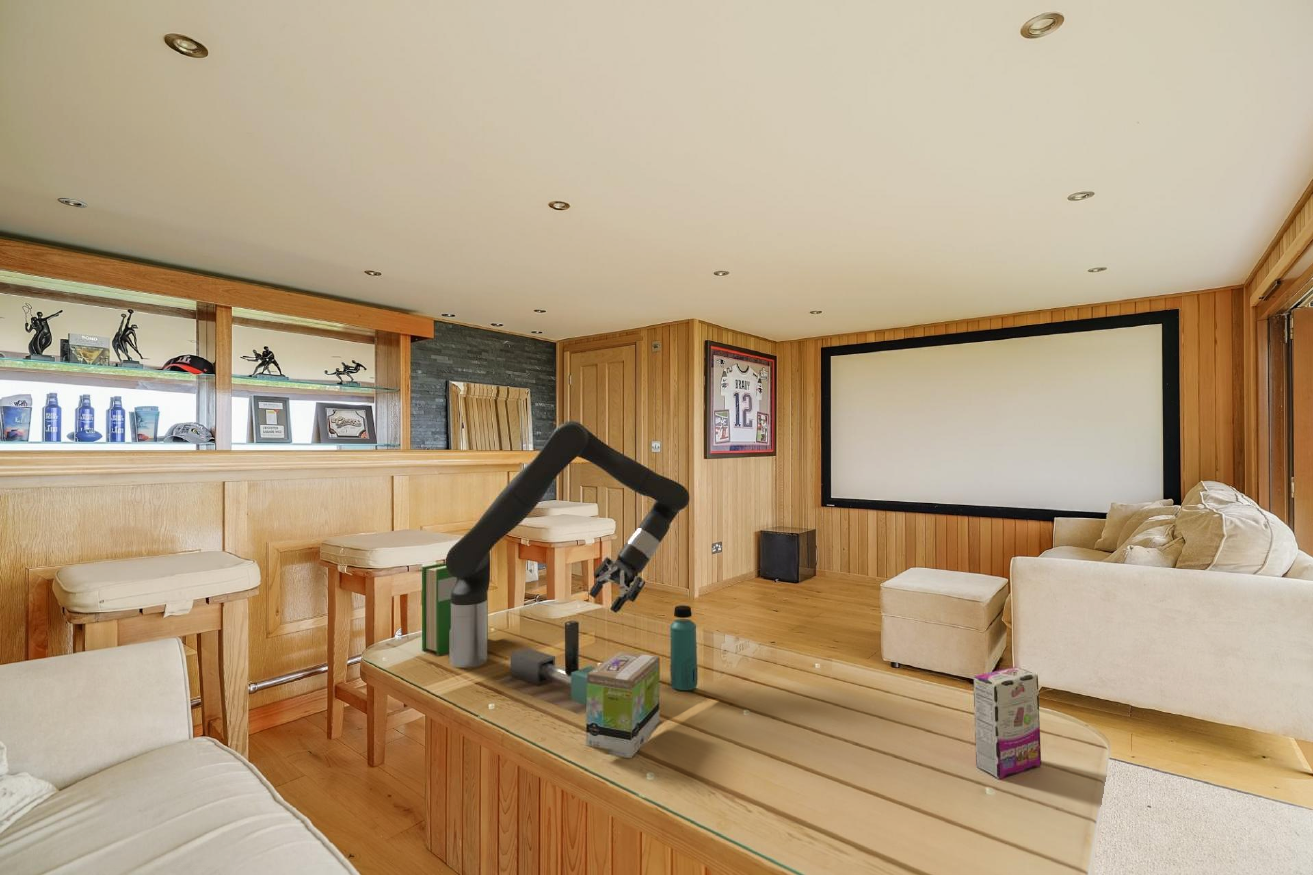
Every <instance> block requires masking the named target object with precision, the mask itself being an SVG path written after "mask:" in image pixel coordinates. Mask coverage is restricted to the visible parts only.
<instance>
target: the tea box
mask: <svg viewBox="0 0 1313 875" xmlns="http://www.w3.org/2000/svg"><path fill="white" fill-rule="evenodd" d="M660 661H661V660H660V656H657V655H649V654H642V653H635V652H627V651H620V650H619V651H616V652H615V653H614V654H612V655H611V656H610V657H608V658H606V660H605V661H603V662H602V663H600V664H599V665H597V666H596V668H595V669H593V670H592V671H590V672H589V673H588V674H587V707H586V712H585V713H586V715H585V718H586V721H585V722H586V723H585V729H586V731H585V746H589V747H595V748H600V749H606V750H610V751H608V752H606V753H605V754H606V755H610V756H614V757H615V756H616V757H620V758H621V757H622V758H627V759H632V758H633V757H634V755H635V754H636V753H637V752H638V750H639V749H640V748H641V747H642V746H643V745H644V743H645V742H646V741H647V740H648V739H649V738H650V737H651V736H652V734H654V732H655V731H656V730H657V729H658V728H659V726H660V724H658V723H659V722H660V696H661V694H660V689H661V688H660V685H661V684H660V680H661V679H660V677H661V676H660V673H661V672H660V671H661V670H660V669H661V664H660V663H661V662H660ZM657 724H658V725H657Z"/></svg>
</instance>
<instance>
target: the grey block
mask: <svg viewBox="0 0 1313 875" xmlns="http://www.w3.org/2000/svg"><path fill="white" fill-rule="evenodd" d="M509 655H510V660H509V661H510V663H509V664H510V676H511V677H513V678H516V679H519V680H521V681H524V682H527V683H529V684H532V685H535V686H537V687H538V686H541V685H543V684H546V683H549V682H551V680H548V679H546V678H543V677H540V664H542V663H545V662H546V663H549V664H552V665H555V666H556V656H554V655H551V654H548V653H546V652H543V651H539V650H536V649H532V648H529V647H527V648H524V649H519V650H516V651H514V652H511V653H510V654H509Z"/></svg>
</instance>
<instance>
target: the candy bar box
mask: <svg viewBox="0 0 1313 875" xmlns="http://www.w3.org/2000/svg"><path fill="white" fill-rule="evenodd" d="M972 679H973V680H972V681H973V704H974V706H973V707H974V708H973V709H974V733H975V734H974V736H975V738H974V739H975V762H976V764H975V766H976V768H978V769H979V770H981V771H983V772H985V773H986V774H988V775H991V776H993V777H994V778H996V779H997V780H1001V779H1005V778H1008V777H1011V776H1013V775H1014V776H1015V775H1017V774H1020V773H1023V772H1025V771H1029V770H1031V769H1032V770H1033V769H1035V768H1038V767H1040V766H1042V757H1041V756H1042V754H1041V753H1042V752H1041V729H1040V728H1041V726H1040V699H1039V698H1040V697H1039V675H1038V674H1037V673H1034V672H1031V671H1028V670H1026V669H1022V668H1021V667H1017V666H1012V667H1008V668H1004V669H1001V670H1000V669H999V670H996V671H991V672H986V673H982V674H978V675H974V676H972Z"/></svg>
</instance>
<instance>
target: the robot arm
mask: <svg viewBox="0 0 1313 875" xmlns="http://www.w3.org/2000/svg"><path fill="white" fill-rule="evenodd" d="M577 457H578V458H580V459H583V460H585V461H587V462H590V463H592V464H593V465H595V466H597V467H598V468H600V469H601V470H603V471H604V472H606V473H607V474H609V475H610V477H612V478H613V479H615V480H616V481H617V482H618V483H620V484H622V485H623V486H625V487H627V488H628V489H631V490H632V491H633V492H636V493H637V494H639V495H640V496H643V497H649V498H651V499H653V500H655V501H654V503H653V505H652V507H651V509H650V510H649V512H648V513H647V514H646V515H645V517H644V518H643V520H642V521H641V522H640V524H639V525H638V527H637V528H636V529H635V531H633V533H632V534H631V535H630V536H629V538H628V540H627V541H626V542H625V544H624V545H623V546H622V548H621V549H620V551H619V553H618V554H617V558H616V560H615V561H613V560H612V559H611V558H610V557H608V556H605V558H604V560H603V561H602V562H601V564H600V565H599V566H598V567H597V569H595V571H594V573H593V577H594V578H595V583H594V584H593V585H592V587H591V588H590V590H589V596H591V597H592V598H594V599H595V598H596V597H597V596H598V594H600V591H602V589H603V587H604V586H605V585H606V584H608V583H615V584H617V585H618V586H619V589H620V591H619V592H620V593H619V596H617V598H616V599H615V600H614V602H613V603H612V605H611V606H610V610H611V611H612V612H613V613H615V614H616V613H618V612H619V611H620V610H621V609H622V607H623V606H624V605H625V603H626V602H628V601H629V602H632V603H634V602H635V601H636V600H637V598H638V596H639V594H640V593H641V591H642V589H643V587H644V586H645V584H646V581H645V579H643V577H641V576H639V574H640V573H642V572H643V570H644V569H645V568H646V566H647V565H648V563H649V562H650V560H651V559H652V557H653V556H654V554H656V553H655V552H656V551H657V549H658V547H659V545H660V543H661V542H662V541H663V539H664V538H665V536H666V535H667V533H668V532H669V530H670V526H671V524H672V522H673V520H674V519H675V518H676V516H677V514H678V513H679V512H680V511H681V510H684V509H685V508H686V507H688V504H689V503H690V499H691V498H690V493H689V491H688V489H687V488H686V487H685V486H684V485H682V484H681V483H680V482H677V481H676V480H673V479H671V478H668V477H666V476H663V475H662V474H658V473H656V472H655V471H653V470H652V469H650V468H648V466H647V467H646V466H645V465H644V464H641V463H640V462H638V461H636V460H634V459H632V458H631V457H629V456H627V455H625V454H623V453H621V452H619V450H616V449H614V448H613V447H612V446H609V445H608V444H607V443H606V442H604V441H602V440H601V439H599V438H598V437H597V436H596V435H594V434H593V433H592V432H591V431H590V430H588V429H587V428H586V427H585V426H584V425H583V424H582V423H580V422H577V421H573V420H570V421H569V420H568V421H566V422H563V423H561V424H559V425H558V426H557V427H556V428H555V429H554V430H553V432H552V433H551V435H550V437H549V438H548V440H547V441H546V442H545V444H544V446H543V447H542V448H541V450H540V451H539V452H538V454H537V455H536V456H535V457H534V459H532V460H531V461H530V463H528V464H527V465H526V466H525V467H524V468H523V469H522V470H521V471H519V473H518V474H516V476H515V477H513V478H512V479H511V480H510V482H509V483H508V484H507V485H506V486H505V488H503V489H502V491H501V492H499V494H498V496H496V498H495V499H494V501H493V502H492V503H491V505H490V506H489V507H488V508H487V509H486V510H485V511H484V513H483V514H482V515H481V517H480V519H479V520H478V521H477V522H476V523H475V524H474V525H473V527H471V529H470V530H469V531H467V533H466V534H465V535H463V536H462V537H461V538H460V539H459V540H458V541H457V542H456V543H455V544H454V545H453V546H451V547H450V549H449V550H448V551H447V554H446V557H445V563H446V568H447V571H448V572H449V573H450V574H451V575H452V576H454V577H457V580H456V584H455V586H454V588H453V590H452V592H451V629H450V631H449V652H448V653H449V656H448V657H449V662H450V666H452V667H454V668H456V669H457V668H459V669H468V668H475V667H480V666H481V665H482V666H483V665H484V664H486V663H487V661H488V639H487V592H489V589H490V588H489V587H490V580H491V579H490V578H491V577H490V576H491V575H490V574H491V557H490V556H491V555H490V551H491V550H492V549H493V547H494V546H495V545H496V544H497V543H498V542H499V541H500V540H502V539H503V538H504V537H505V536H506V535H508V534H509V533H510V532H511V531H513V530H514V529H515V528H516V527H517V526H518V525H519V524H521V523H522V522H523V521H524V520H525V519H526V518H527V517H528V516H529V515H530V513H532V511H533V510H534V509H535V507H537V505H538V504H539V503H540V502H541V500H543V497H544V496H545V495H546V493H547V492H548V490H549V488H550V487H551V485H552V483H553V482H554V480H555V479H556V478H557V476H559V475H560V473H561V472H562V471H563V470H565V468H567V467H568V466H569V465H570V464H571V463H572V462H573V461H574V460H575V459H576V458H577ZM632 583H633V584H632Z"/></svg>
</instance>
